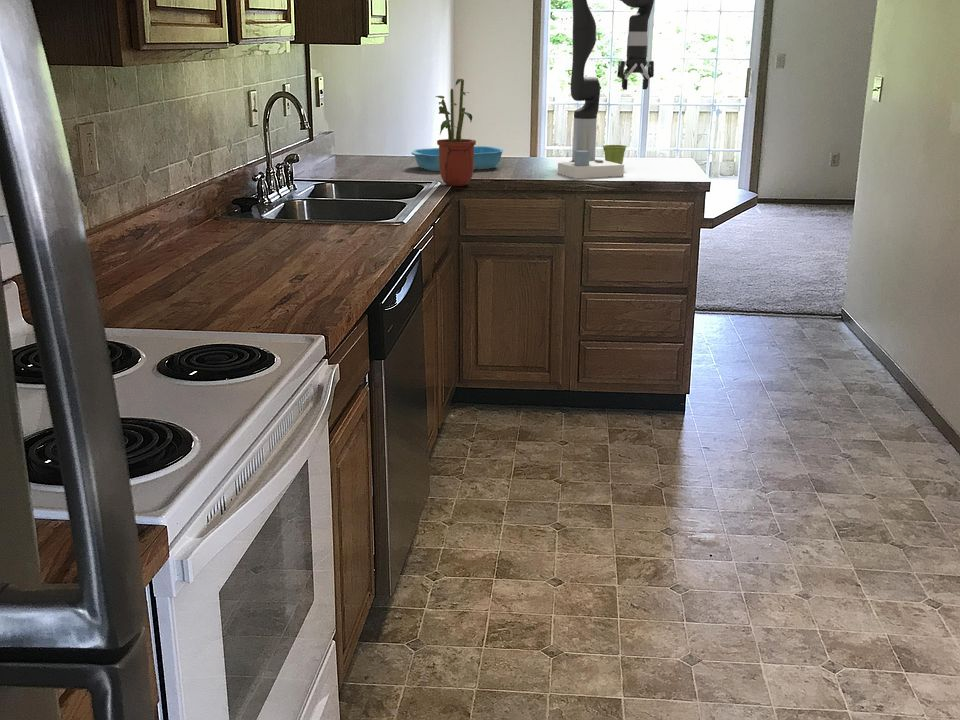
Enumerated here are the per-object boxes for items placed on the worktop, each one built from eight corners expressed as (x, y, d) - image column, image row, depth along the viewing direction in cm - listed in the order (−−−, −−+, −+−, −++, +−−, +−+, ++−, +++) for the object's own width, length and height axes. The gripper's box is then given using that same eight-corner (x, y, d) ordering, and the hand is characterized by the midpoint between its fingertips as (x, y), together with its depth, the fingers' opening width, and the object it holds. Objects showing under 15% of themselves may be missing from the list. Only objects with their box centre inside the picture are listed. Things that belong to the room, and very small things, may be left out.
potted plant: (483, 184, 332) (483, 78, 321) (457, 189, 319) (457, 79, 308) (441, 180, 341) (440, 77, 330) (415, 185, 328) (413, 78, 317)
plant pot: (597, 169, 372) (598, 146, 370) (606, 166, 380) (607, 144, 377) (620, 170, 368) (622, 147, 365) (629, 168, 376) (630, 145, 373)
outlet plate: (557, 173, 359) (558, 160, 358) (605, 171, 366) (605, 158, 365) (574, 178, 347) (575, 164, 346) (623, 175, 354) (624, 162, 353)
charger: (573, 175, 354) (574, 150, 352) (583, 175, 356) (584, 150, 353) (578, 177, 351) (579, 151, 348) (588, 176, 352) (589, 151, 349)
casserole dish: (423, 174, 359) (423, 154, 356) (403, 166, 378) (403, 148, 376) (512, 169, 373) (513, 150, 370) (489, 162, 392) (489, 144, 390)
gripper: (648, 44, 366) (646, 88, 371) (615, 44, 361) (613, 89, 367) (659, 44, 360) (656, 89, 365) (625, 44, 355) (623, 90, 360)
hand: (634, 89), depth 366 cm, fingers open, 8 cm apart
